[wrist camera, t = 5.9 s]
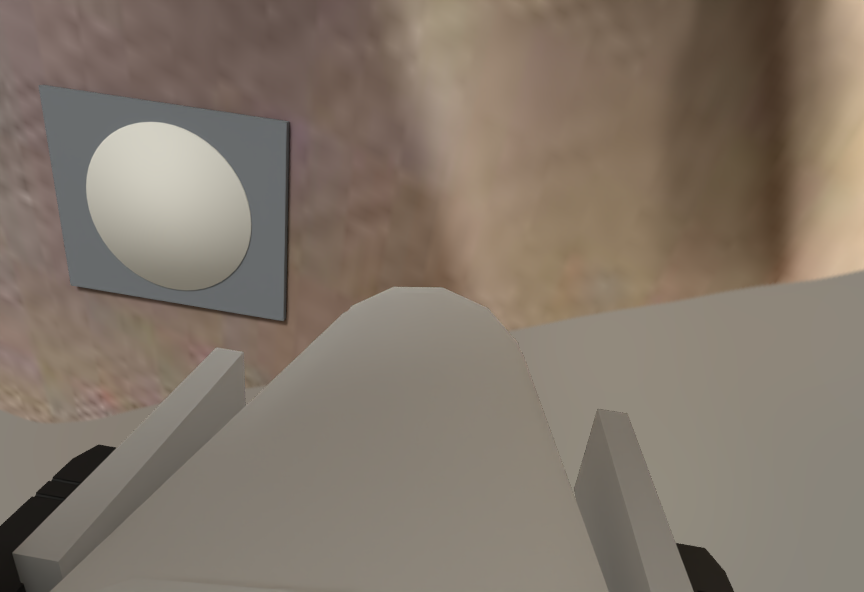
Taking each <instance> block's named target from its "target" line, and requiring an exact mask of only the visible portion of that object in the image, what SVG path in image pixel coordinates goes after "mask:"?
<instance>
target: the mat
mask: <svg viewBox="0 0 864 592" xmlns="http://www.w3.org/2000/svg"><path fill="white" fill-rule="evenodd" d="M39 91H40V98H41V104H42V110H43V116H44V122H45V128H46V135H47V141H48V147H49V153H50V159H51V165H52V172H53V178H54V184H55V190H56V196H57V202H58V209H59V215H60V221H61V227H62V233H63V239H64V246H65V252H66V258H67V264H68V270H69V276H70V283H71V285H72V286H78V287H84V288H90V289H96V290H102V291H108V292H114V293H119V294H125V295H131V296H137V297H143V298H149V299H155V300H161V301H167V302H173V303H179V304H185V305H191V306H197V307H202V308H208V309H214V310H220V311H226V312H232V313H238V314H244V315H250V316H256V317H262V318H268V319H274V320H280V321H284V320H285V319H286V280H287V223H288V166H289V121H283V120H276V119H269V118H263V117H256V116H249V115H242V114H236V113H229V112H222V111H215V110H209V109H202V108H195V107H189V106H182V105H175V104H168V103H162V102H155V101H148V100H141V99H135V98H128V97H121V96H115V95H108V94H101V93H94V92H88V91H81V90H74V89H67V88H61V87H54V86H47V85H39Z"/></svg>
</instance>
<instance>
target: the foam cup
mask: <svg viewBox="0 0 864 592" xmlns="http://www.w3.org/2000/svg"><path fill="white" fill-rule="evenodd" d="M50 592H609V591H608V588H607V585H606V582H605V580H604V577H603V574H602V571H601V568H600V566H599V563H598V560H597V557H596V555H595V552H594V549H593V546H592V544H591V541H590V538H589V535H588V533H587V530H586V527H585V524H584V521H583V519H582V516H581V513H580V510H579V508H578V505H577V502H576V499H575V497H574V494H573V491H572V488H571V486H570V483H569V480H568V478H567V474H566V472H565V469H564V466H563V464H562V461H561V458H560V455H559V452H558V450H557V447H556V444H555V441H554V439H553V436H552V433H551V430H550V427H549V425H548V422H547V419H546V417H545V414H544V411H543V408H542V405H541V403H540V400H539V397H538V395H537V392H536V389H535V386H534V383H533V380H532V378H531V375H530V372H529V369H528V367H527V364H526V361H525V358H524V356H523V353H522V352H521V351H520V348H519V344H518V342H517V341H516V340H515V339H514V337H513V336H512V335H511V334H510V333H509V332H508V331H507V329H506V328H505V327H504V326H503V325H502V324H501V322H500V321H499V320H498V319H497V318H496V317H495V315H494V314H493V313H492V312H491V311H490V310H489V308H487V307H485V306H483V305H480V304H478V303H476V302H474V301H471V300H469V299H467V298H465V297H463V296H460V295H458V294H456V293H454V292H452V291H449V290H447V289H445V288H442V287H392V288H390V289H388V290H386V291H383V292H381V293H379V294H377V295H375V296H372V297H370V298H368V299H366V300H364V301H361V302H359V303H357V304H355V305H353V306H351V308H350V309H349V310H348V311H347V312H344V313H343V314H342V315H341V316H340V317H339V318H338V319H337V320H336V321H335V322H333V323H332V324H331V325H330V326H329V327H328V328H327V329H326V330H325V331H324V332H323V333H322V334H321V335H320V336H319V337H318V338H317V339H316V340H314V341H313V342H312V343H311V344H310V345H309V346H308V347H307V348H306V349H305V350H304V351H303V352H302V353H301V354H300V355H299V356H298V357H297V358H296V359H294V360H293V361H292V362H291V363H290V364H289V365H288V366H287V367H286V368H285V369H284V370H283V371H282V372H281V373H280V374H279V375H278V376H277V377H275V378H274V379H273V380H272V381H271V382H270V383H269V384H268V385H267V386H266V387H265V388H264V389H263V390H262V391H261V392H260V393H259V394H258V395H257V396H255V397H254V398H253V400H251V401H250V402H249V403H248V404H247V405H246V406H245V407H244V408H243V409H242V410H241V411H240V412H239V413H238V414H236V415H235V416H234V417H233V418H232V419H231V420H230V421H229V422H228V423H227V424H226V425H225V426H224V427H223V428H222V429H221V430H220V431H219V432H218V433H216V434H215V435H214V436H213V437H212V438H211V439H210V440H209V441H208V442H207V443H206V444H205V445H204V446H203V447H202V448H201V449H200V450H199V451H197V452H196V453H195V454H194V455H193V456H192V457H191V458H190V459H189V460H188V461H187V462H186V463H185V464H184V465H183V466H182V467H181V468H180V469H179V470H177V471H176V472H175V473H174V474H173V475H172V476H171V477H170V478H169V479H168V480H167V481H166V482H165V483H164V484H163V485H162V486H161V487H160V488H158V489H157V490H156V491H155V492H154V493H153V494H152V495H151V496H150V497H149V498H148V499H147V500H146V501H145V502H144V503H143V504H142V505H141V506H140V507H138V508H137V509H136V510H135V511H134V512H133V513H132V514H131V515H130V516H129V517H128V518H127V519H126V520H125V521H124V522H123V523H122V524H121V525H119V526H118V527H117V528H116V529H115V530H114V531H113V532H112V533H111V534H110V535H109V536H108V537H107V538H106V539H105V540H104V541H103V542H102V543H101V544H99V545H98V546H97V547H96V548H95V549H94V550H93V551H92V552H91V553H90V554H89V555H88V556H87V557H86V558H85V559H84V560H83V561H82V562H80V563H79V564H78V565H77V566H76V567H75V568H74V569H73V570H72V571H71V572H70V573H69V574H68V575H67V576H66V577H65V578H64V579H63V580H62V581H60V582H59V583H58V584H57V585H56V586H55V587H54V588H53V589H52V590H51V591H50Z"/></svg>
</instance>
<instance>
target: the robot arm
mask: <svg viewBox="0 0 864 592" xmlns="http://www.w3.org/2000/svg"><path fill="white" fill-rule="evenodd" d="M245 406H246V402H245V375H244V352H240V351H234V350H228V349H222V348H215V349H214V350H213V351H212V352H211V353H210V355H209V356H208V357H207V358H206V359H205V360H204V361H203V362H202V363H201V364H200V365H199V366H198V367H197V368H196V369H195V370H194V371H193V372H192V373H191V374H190V375H189V376H188V377H187V378H186V379H185V380H184V381H183V382H182V383H181V384H180V385H179V386H178V387H177V388H176V389H175V390H174V391H173V392H172V393H171V394H170V395H169V396H168V397H167V398H166V399H165V400H164V401H163V402H162V403H161V404H160V405H159V406H158V407H157V408H156V409H155V410H154V411H153V412H152V413H151V414H150V415H149V416H148V417H147V418H146V419H145V420H144V421H143V422H142V423H141V424H140V425H139V426H138V427H137V428H136V429H135V430H134V431H133V432H132V433H131V434H130V435H129V436H128V437H127V438H126V439H125V440H124V441H123V442H122V443H121V444H120V445H119V446H118V447H117V448H115V447H109V446H104V445H97V446H95V447H93V448H92V449H90V450H88V451H86V452H84V453H82V454H81V455H79V456H77V457H75V458H73V459H72V460H71V461H70V462H69V463H68V464H67V465H65V467H63V468H62V469H61V470H60V471H59V472H58V473H57V474H56V475H55V476H54V477H53V479H52V481H48V482H47V483H46V484H45V485H44V486H43V487H42V488H41V489H40V490H38V492H36V496H35V497H31V498H30V499H29V500H28V501H27V502H26V503H24V504H23V505H22V506H21V507H20V508H19V509H18V510H17V511H16V512H15V513H14V514H13V515H12V516H11V517H9V518H8V519H7V520H6V521H5V522H4V523H3V524H2V525H1V526H0V592H50V591H51V590H52V589H53V588H54V587H55V586H56V585H57V584H58V583H59V582H60V581H62V580H63V579H64V578H65V577H66V576H67V575H68V574H69V573H70V572H71V571H72V570H73V569H74V568H75V567H76V566H77V565H78V564H79V563H80V562H82V561H83V560H84V559H85V558H86V557H87V556H88V555H89V554H90V553H91V552H92V551H93V550H94V549H95V548H96V547H97V546H98V545H99V544H101V543H102V542H103V541H104V540H105V539H106V538H107V537H108V536H109V535H110V534H111V533H112V532H113V531H114V530H115V529H116V528H117V527H118V526H119V525H121V524H122V523H123V522H124V521H125V520H126V519H127V518H128V517H129V516H130V515H131V514H132V513H133V512H134V511H135V510H136V509H137V508H138V507H140V506H141V505H142V504H143V503H144V502H145V501H146V500H147V499H148V498H149V497H150V496H151V495H152V494H153V493H154V492H155V491H156V490H157V489H158V488H160V487H161V486H162V485H163V484H164V483H165V482H166V481H167V480H168V479H169V478H170V477H171V476H172V475H173V474H174V473H175V472H176V471H177V470H179V469H180V468H181V467H182V466H183V465H184V464H185V463H186V462H187V461H188V460H189V459H190V458H191V457H192V456H193V455H194V454H195V453H196V452H197V451H199V450H200V449H201V448H202V447H203V446H204V445H205V444H206V443H207V442H208V441H209V440H210V439H211V438H212V437H213V436H214V435H215V434H216V433H218V432H219V431H220V430H221V429H222V428H223V427H224V426H225V425H226V424H227V423H228V422H229V421H230V420H231V419H232V418H233V417H234V416H235V415H236V414H238V413H239V412H240V411H241V410H242V409H243V408H244V407H245ZM574 491H575V497H576V502H577V505H578V508H579V510H580V513H581V516H582V519H583V521H584V524H585V527H586V530H587V533H588V535H589V538H590V541H591V544H592V546H593V549H594V552H595V555H596V557H597V560H598V563H599V566H600V568H601V571H602V574H603V577H604V580H605V582H606V585H607V588H608V591H609V592H734V591H733V588H732V586H731V584H730V582H729V580H728V577H727V575H726V573H725V571H724V570H723V569H722V568H721V566H720V565H719V564H718V563H717V562H716V560H715V559H714V558H713V557H712V556H711V555H710V553H709V552H708V551H707V550H706V549H705V548H701V547H695V546H690V545H684V544H678V543H675V540H674V537H673V535H672V532H671V529H670V527H669V524H668V522H667V519H666V516H665V513H664V511H663V508H662V506H661V503H660V500H659V497H658V495H657V492H656V489H655V486H654V484H653V481H652V478H651V476H650V473H649V470H648V468H647V465H646V462H645V460H644V457H643V454H642V452H641V449H640V446H639V443H638V441H637V438H636V435H635V433H634V430H633V428H632V425H631V422H630V420H629V417H628V414H627V413H621V412H615V411H609V410H603V409H597V413H596V416H595V419H594V423H593V426H592V429H591V433H590V436H589V440H588V444H587V447H586V450H585V453H584V457H583V460H582V464H581V467H580V470H579V474H578V477H577V481H576V484H575V487H574Z"/></svg>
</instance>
